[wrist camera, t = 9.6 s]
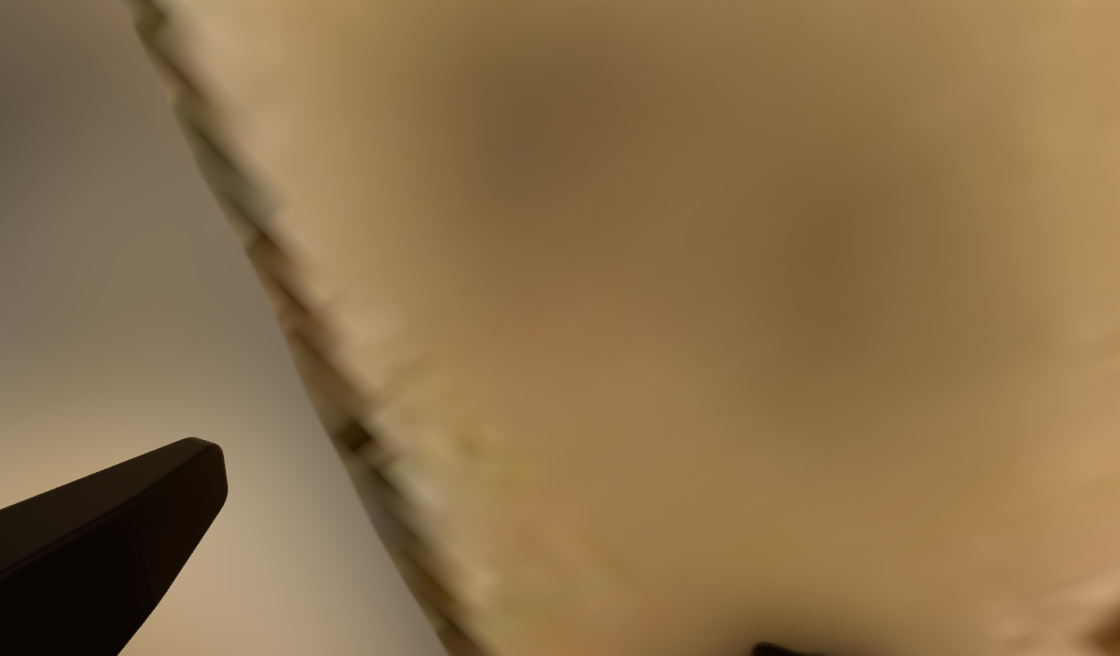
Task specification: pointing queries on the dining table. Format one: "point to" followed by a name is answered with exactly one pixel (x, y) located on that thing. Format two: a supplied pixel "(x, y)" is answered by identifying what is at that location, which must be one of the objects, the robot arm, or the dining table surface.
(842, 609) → the dining table surface
